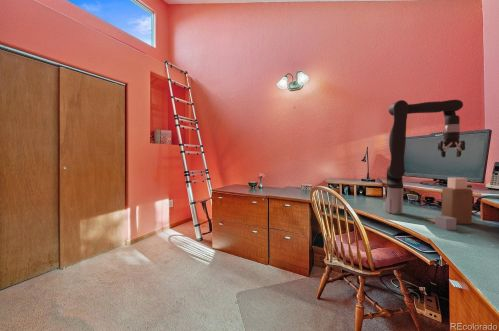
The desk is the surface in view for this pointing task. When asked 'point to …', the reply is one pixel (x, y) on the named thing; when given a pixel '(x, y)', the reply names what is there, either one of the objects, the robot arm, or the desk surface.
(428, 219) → the tile
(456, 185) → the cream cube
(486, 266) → the desk surface
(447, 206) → the wooden block
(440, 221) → the mauve cube
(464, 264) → the desk surface
